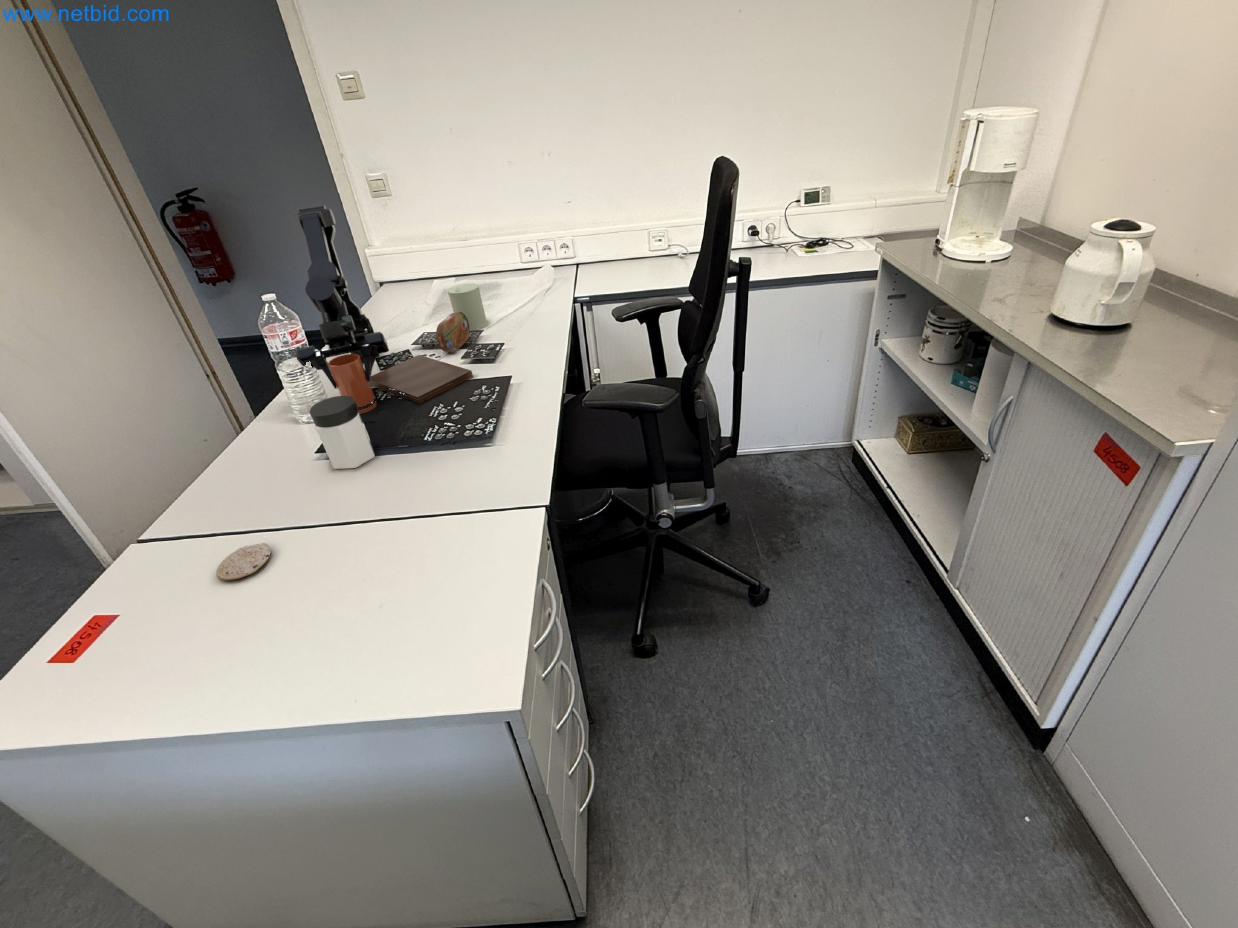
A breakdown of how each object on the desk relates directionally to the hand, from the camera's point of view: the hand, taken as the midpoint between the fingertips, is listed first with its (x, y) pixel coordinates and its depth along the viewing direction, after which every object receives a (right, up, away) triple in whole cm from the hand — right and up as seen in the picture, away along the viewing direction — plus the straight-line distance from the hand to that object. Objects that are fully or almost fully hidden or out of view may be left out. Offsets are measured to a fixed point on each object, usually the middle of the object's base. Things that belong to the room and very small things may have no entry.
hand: (352, 384), depth 131 cm
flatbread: (+1, -34, -39) cm, 52 cm away
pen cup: (0, -5, +5) cm, 7 cm away
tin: (+15, +15, +32) cm, 38 cm away
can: (+16, +24, +45) cm, 54 cm away
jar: (+7, -17, -14) cm, 23 cm away
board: (+10, +3, +14) cm, 18 cm away
